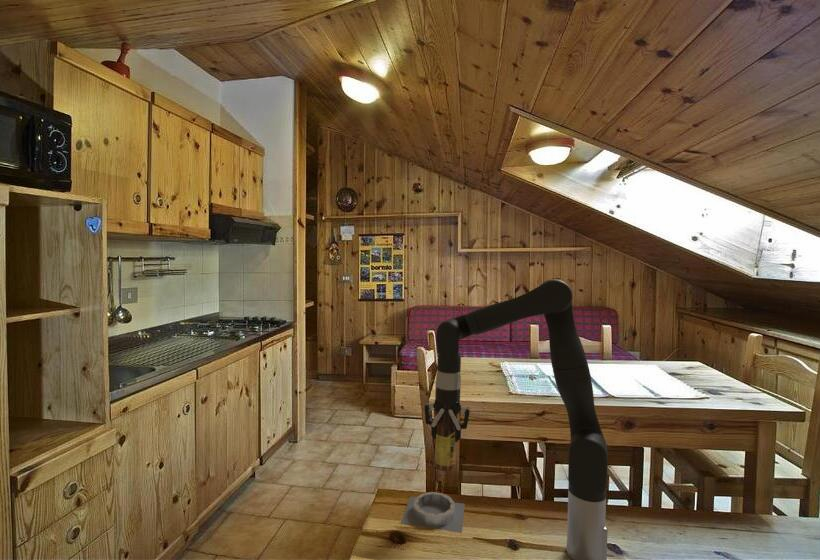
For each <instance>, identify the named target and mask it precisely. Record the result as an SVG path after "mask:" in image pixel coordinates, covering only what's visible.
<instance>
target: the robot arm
mask: <svg viewBox="0 0 820 560" xmlns="http://www.w3.org/2000/svg"><path fill="white" fill-rule="evenodd" d="M540 315H544V319H545V322H546V325H547V326H546V327H547V331H548V341H549V342H548V344H549V354H550V362H551V366H552V367H551V368H552V373H553V376H554V381H555V384H556V387H557V390H558V393H559V395H560V398H561V400H562V402H563V404H564V406H565V409H566V413H567V417H568V424H569V431H570V442H569V448H568V462H567V463H568V469H567V473H568V475H567V481H568V487H567V488H568V493H567V494H568V495H567V497H568V498H567V522H566V523H567V527H566V528H567V531H566V553H567V555H568V556H569V558H570V559H571V560H607V558H608V528H607V526H606V513H607V512H606V510H607V509H606V508H607V506H606V505H607V504H606V503H607V489H608V465H609V464H608V463H609V461H608V459H609V458H608V446H607V445H608V444H607V442H606V439H605V436H604V434H603V432H602V429H601V426H600V422H599V419H598V416H597V412H596V408H595V407H596V406H595V399H594V389H593V388H594V387H593V383H592V377H591V373H590V367H589V363H588V359H587V355H586V352H585V350H584V346H583V343H582V341H581V339H580V335H579V333H578V330H577V327H576V323H575V317H574V309H573V291H572V289H571V287H570V286H569V284H568V283H566V282H565V281H563V280H561V279H557V278H554V279H547V280H545V281H544V282H542V283H541V284H540V285H539V286H537V287H535V288H533V289H531V290H530V291H528V292H526V293H523V294H521V295H519V296H516V297H514V298H511V299H508V300H503V301H500V302H497V303H492V304H489V305H487V306H483V307H481V308H478V309H475V310H471V311H470V312H468V313H467V314H463V315H459V316H455V317H453V318H450V319H447V320H445V321H442V322H440V323H439V325H438V327H437V329H436V333H435V337H436V339H435V341H436V350H437V355H438V356H437V369H436V376H435V394H434V395H435V396H434V402H433V403H430V402H425V404H424V407H423V408H424V418H425V424H426V425H429V426H431V431H430V432H431V433H430V434H431V437H432V439H433V440H436V429H437V427H436V426H437V422H438V421H439V419H440V418H441V419H442V416H443V412H444V408H443V404H449V405H451V409H449V414H450V418H451V419H452V420H453V422H454V424H455V426H456V443H458V442H459V441H460V440H461V439H462V436H461V435H462V430H467V428H468V422H469V416H470V411H471V408H470V406H466V407H465V406H462V405H461V386H462V384H461V383H462V376H461V375H462V374H461V371H462V369H461V367H462V356H461V353H460V352H459V351H460V350H459V349H460V343H459V342H460V341H461V340H463V339H465V338H468V337H472V336H474V335H475V336H477V335H481V334H485V333H488V332H490V331H494V330H496V329H499V328H501V327H504V326H507V325H509V324H512V323H514V322H518V321H521V320H523V319H527V318H530V317H536V316H540ZM432 410H434V411H435V413H436V415H434V418H433V419H432V417H431V412H432ZM460 412H462V415H463V417H464V418H463V422H461V421H460V418H459V416H458V414H459V413H460Z"/></svg>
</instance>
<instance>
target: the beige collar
mask: <svg viewBox="0 0 820 560" xmlns="http://www.w3.org/2000/svg"><path fill="white" fill-rule="evenodd" d="M415 497H416V498H415V501H414V504H413V514H414V516H415V518H416V519H417V521H419V522H421V523H423V524H424V525H427V526H434V527H439V526H444V525H448V524H449V523H450V522H451V521H453V520H454V514H455V503H456V502H455V501H454V500H453V499H452V498H451V496H448V495H446V494H444V493H443V492H442V493H441V492H438V491H437V492H435V491H430V492H429V491H428V492H423V493H421V494H419V495H418V496H415ZM431 503H434V504H441V505H443V506H445V507H447V508H448V510H447V511H446V512H445V513H440V514H432V513H427V512H425V511H423V510H421V509H420V507H422V506H423V505H425V504H431Z"/></svg>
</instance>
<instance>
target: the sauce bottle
mask: <svg viewBox="0 0 820 560" xmlns="http://www.w3.org/2000/svg"><path fill="white" fill-rule="evenodd" d="M443 408H444V412H443V416H442V419H441V418H440V419H439V421H438V422H437V424H436V425H437V426H436V427H437V429H436V439H435V443H434V444H435V446H434V447H435V448H434V467H435V468H436V469H437V470H439V471H442V472H450V471H453V470H454V469H455V464H456V453H457V452H456V449H457V447H456V446H457V442H456V426H455V424H454V422H453V420H452V419H451V418H450V414H449V409H451V405H449V404H443Z"/></svg>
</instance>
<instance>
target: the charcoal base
mask: <svg viewBox="0 0 820 560" xmlns="http://www.w3.org/2000/svg"><path fill="white" fill-rule="evenodd" d="M416 497H417V496H409V499H408V501H407V505H406V506H405V510H404V512H403V515H402V518H401V521H400V524H402V525H408V526H415V527H422V528H429V529H435V530H442V531H448V532H449V531H450V532H456V533H460V534H461V533H463V528H464V527H463V525H464V515H465V505H466V504H465V503H462V502H461V503H460V502H459V503H458V502H454V503H455V514H454V520H453V521H451V522H450V523H449V524H448V525H444V526H439V527H434V526H427V525H424V524H423V523H421V522H419V521H417V519H416V518H415V516H414V514H413V504H414V501H415V498H416ZM420 509H421V510H423V511H425V512H427V513H432V514H440V513H445V512H446V511H447V510H448V508H447V507H445V506H443V505H441V504H434V503H431V504H425V505H423V506H422V507H420Z"/></svg>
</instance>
